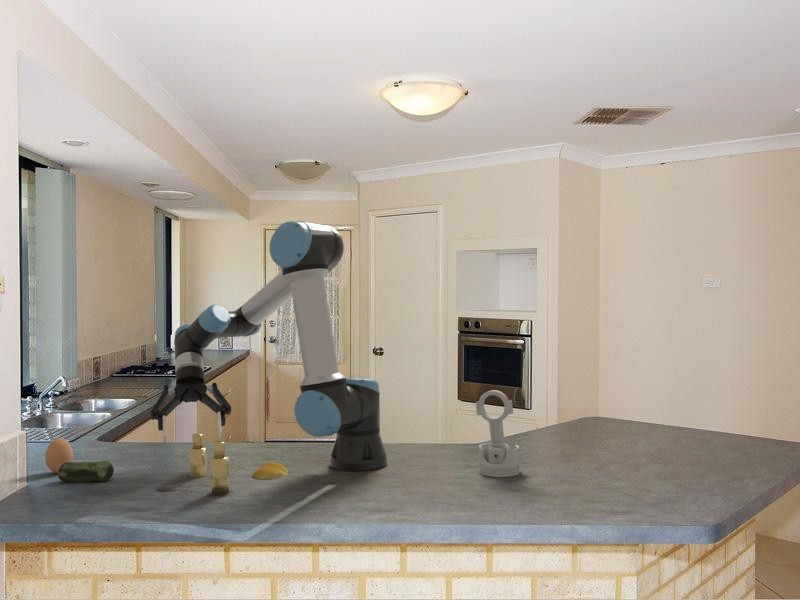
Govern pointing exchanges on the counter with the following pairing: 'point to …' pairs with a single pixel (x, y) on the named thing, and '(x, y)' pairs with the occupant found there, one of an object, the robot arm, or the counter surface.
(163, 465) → the counter surface
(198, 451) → the brass bottle
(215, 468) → the gold bottle
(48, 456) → the egg
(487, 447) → the engine component
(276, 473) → the bread roll
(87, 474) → the vegetable
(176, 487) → the board
